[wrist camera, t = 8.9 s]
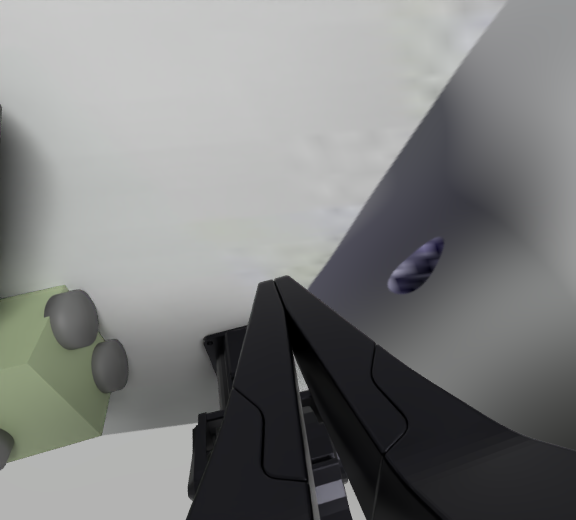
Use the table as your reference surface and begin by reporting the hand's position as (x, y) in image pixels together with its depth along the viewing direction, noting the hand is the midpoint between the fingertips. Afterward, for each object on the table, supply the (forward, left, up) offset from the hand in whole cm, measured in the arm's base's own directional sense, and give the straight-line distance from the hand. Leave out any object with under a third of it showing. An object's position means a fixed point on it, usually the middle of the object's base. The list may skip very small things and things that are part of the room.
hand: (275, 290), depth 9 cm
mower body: (-10, +18, -12) cm, 24 cm away
